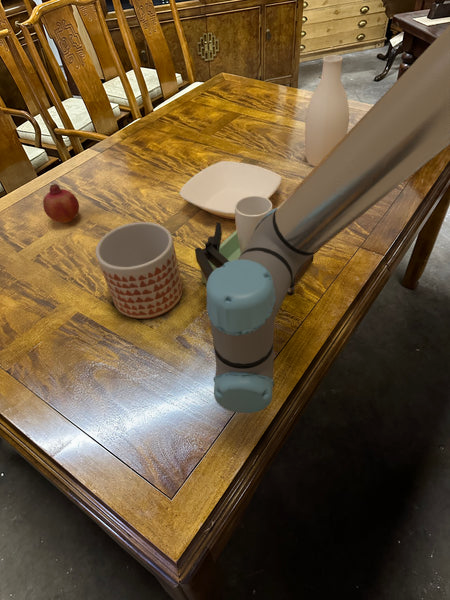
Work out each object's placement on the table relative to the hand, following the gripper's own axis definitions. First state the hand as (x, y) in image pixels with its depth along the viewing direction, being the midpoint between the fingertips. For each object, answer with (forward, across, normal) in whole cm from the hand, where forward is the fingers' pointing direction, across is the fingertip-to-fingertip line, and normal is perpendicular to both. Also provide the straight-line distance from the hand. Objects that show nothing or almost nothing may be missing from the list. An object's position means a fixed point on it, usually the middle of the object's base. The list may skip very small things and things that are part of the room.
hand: (255, 228), depth 77 cm
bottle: (+47, +16, -11) cm, 51 cm away
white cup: (0, 0, -10) cm, 10 cm away
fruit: (+19, -48, -11) cm, 53 cm away
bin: (0, 0, -11) cm, 11 cm away
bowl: (+26, -7, -11) cm, 29 cm away
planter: (-7, -21, -11) cm, 25 cm away
